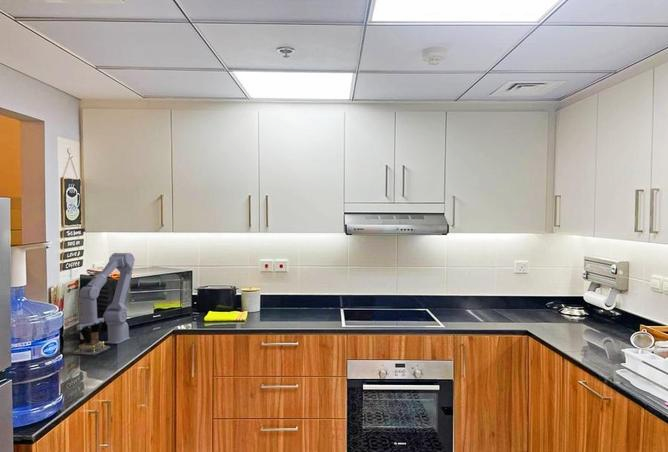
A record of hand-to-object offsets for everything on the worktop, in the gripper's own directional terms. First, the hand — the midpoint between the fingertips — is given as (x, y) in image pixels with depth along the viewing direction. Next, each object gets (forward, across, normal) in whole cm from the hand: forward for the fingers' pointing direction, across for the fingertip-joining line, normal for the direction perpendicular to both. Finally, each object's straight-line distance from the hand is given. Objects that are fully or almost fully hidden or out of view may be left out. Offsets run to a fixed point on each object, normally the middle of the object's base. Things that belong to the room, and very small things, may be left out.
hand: (91, 341), depth 207 cm
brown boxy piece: (+2, 0, 0) cm, 2 cm away
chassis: (+4, 0, 0) cm, 4 cm away
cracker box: (+5, +22, +22) cm, 31 cm away
